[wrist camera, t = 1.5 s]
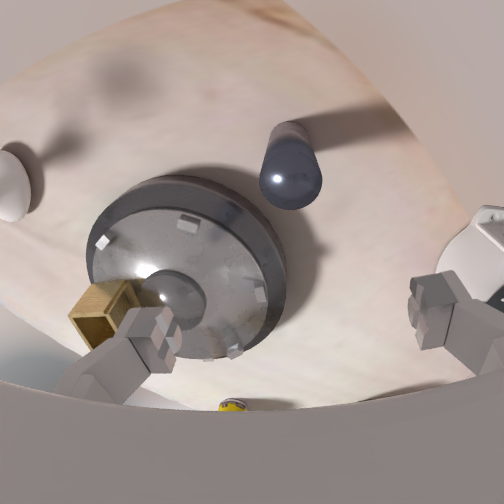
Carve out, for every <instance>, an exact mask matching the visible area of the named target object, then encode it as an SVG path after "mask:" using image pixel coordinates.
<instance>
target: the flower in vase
mask: <svg viewBox="0 0 504 504" xmlns="http://www.w3.org/2000/svg"><path fill="white" fill-rule="evenodd" d="M30 201H31V188H30V182H29V178H28V175H27V173H26V170H25V168H24V167H23V165H22V163H21V162H20V161H19V159H18V158H17V157H15V156H14V155H13V154H11V153H9V152H7V151H3V150H0V218H1V219H3V220H5V221H9V222H13V221H18V220H21V219H22V218H23V217H24V216H25V215H26V213H27V211H28V209H29V205H30Z"/></svg>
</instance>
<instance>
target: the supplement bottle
mask: <svg viewBox="0 0 504 504" xmlns="http://www.w3.org/2000/svg"><path fill="white" fill-rule="evenodd" d="M247 410H248V409H247V406H246V405H245V404H244V403H243V402H241V401H239V400H234V399H227V400H224V401H222V402H221V403H220V405H219V410H218V411H247Z"/></svg>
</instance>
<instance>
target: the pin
mask: <svg viewBox="0 0 504 504" xmlns="http://www.w3.org/2000/svg"><path fill="white" fill-rule="evenodd" d="M259 183H260V188H261V191H262V193H263V195H264V196H265V197H266V199H267V200H268V201H269V202H270V203H272V204H273V205H275V206H277V207H279V208H282V209H287V210H295V209H300V208H303V207H305V206H307V205H309V204H310V203H312V202H313V201H314V200H315V199H316V197H317V196H318V194H319V192H320V190H321V187H322V174H321V171H320V168H319V165H318V162H317V160H316V157H315V154H314V151H313V148H312V146H311V143H310V140H309V138H308V135H307V132H306V131H305V129H304V128H303V127H302V126H301V125H299V124H298V123H295V122H290V121H287V122H282V123H280V124H278V125H277V126H276V127H275V128H274V129H273V130H272V132H271V135H270V139H269V142H268V146H267V150H266V154H265V157H264V161H263V165H262V169H261V172H260V178H259Z"/></svg>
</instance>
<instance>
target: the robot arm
mask: <svg viewBox="0 0 504 504" xmlns="http://www.w3.org/2000/svg"><path fill="white" fill-rule="evenodd" d="M492 214H493V215H492ZM491 215H492V217H491ZM410 290H411V292H412V295H411V296H410V298H409V299H408V315H409V319H410V323H411V325H412V327H414V328H415V329H416V335H415V336H416V339H417V341H418V344H419V347H420V350H426V349H432V348H437V347H442V346H444V348H445V349H447V350H448V351H449V352H450V353H451V354H452V355H454V356H455V357H456V358H457V359H458V360H459V361H461V362H462V363H463V364H464V365H465V366H466V367H468V368H469V369H470V370H471V371H472V372H473V373H475V374H476V375H477V376H476V377H473V378H469V379H466V380H462V381H458V382H455V383H451V384H447V385H443V386H439V387H435V388H431V389H426V390H422V391H417V392H413V393H408V394H403V395H398V396H392V397H387V398H381V399H375V400H369V401H362V402H356V403H348V404H340V405H332V406H323V407H312V408H300V409H286V410H266V411H193V410H192V411H191V410H174V409H173V410H172V409H159V408H148V407H147V408H146V407H137V406H128V405H122V404H123V403H124V402H125V401H126V400H127V399H128V398H129V396H131V395H132V394H133V393H134V391H135V390H136V389H137V388H138V387H139V386H140V385H141V384H142V383H143V382H144V381H145V380H146V379H147V378H148V377H149V376H150V375H151V374H150V373H172V370H173V367H174V364H175V362H176V357H175V355H174V354H175V353H176V352H178V351H179V350H180V347H181V344H182V335H181V330H180V328H179V325H178V324H177V323H175V322H174V321H173V320H172V318H173V313H172V311H171V309H170V308H169V307H167V306H162V307H143V308H131V309H129V310H128V312H127V314H126V315H125V317H124V319H123V321H122V322H121V324H120V326H119V328H118V329H117V331H116V333H115V335H114V337H113V338H109V339H107V340H106V341H105V342H103V343H102V344H100V345H99V346H98V347H96V348H95V349H94V350H92V351H91V352H89V353H88V354H87V355H85V356H84V357H83V358H81V359H80V360H78V361H77V362H76V363H74V364H73V365H72V366H70V367H69V368H68V369H66V370H65V371H64V373H63V374H62V376H61V378H60V380H59V381H58V383H57V385H56V387H55V388H54V390H53V392H52V393H49V392H44V391H40V390H36V389H31V388H27V387H23V386H20V385H16V384H12V383H8V382H5V381H2V380H0V504H504V207H498V206H489V205H484V206H482V207H480V209H479V210H478V211H477V212H476V214H475V216H474V218H473V219H472V221H471V222H470V224H469V225H468V226H467V227H466V228H465V229H464V230H462V231H461V232H460V233H459V234H458V235H457V236H456V237H455V238H454V239H453V240H452V241H451V242H450V243H449V244H448V246H447V247H446V249H445V250H444V252H443V254H442V255H441V257H440V260H439V262H438V265H437V268H436V272H435V274H430V275H424V276H418V277H413V278H411V281H410Z"/></svg>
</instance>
